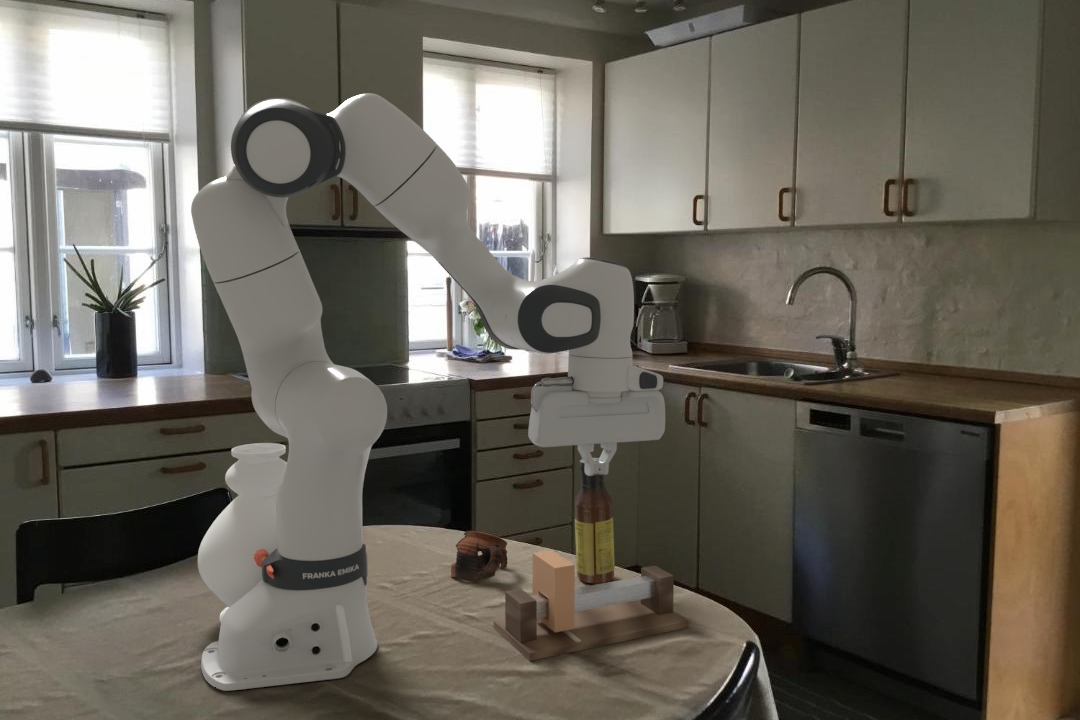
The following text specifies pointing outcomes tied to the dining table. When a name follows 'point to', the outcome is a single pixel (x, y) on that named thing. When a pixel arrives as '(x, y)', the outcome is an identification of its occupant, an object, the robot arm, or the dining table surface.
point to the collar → (555, 588)
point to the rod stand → (593, 615)
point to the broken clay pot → (486, 563)
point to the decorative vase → (243, 523)
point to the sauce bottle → (594, 530)
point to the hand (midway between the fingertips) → (596, 474)
